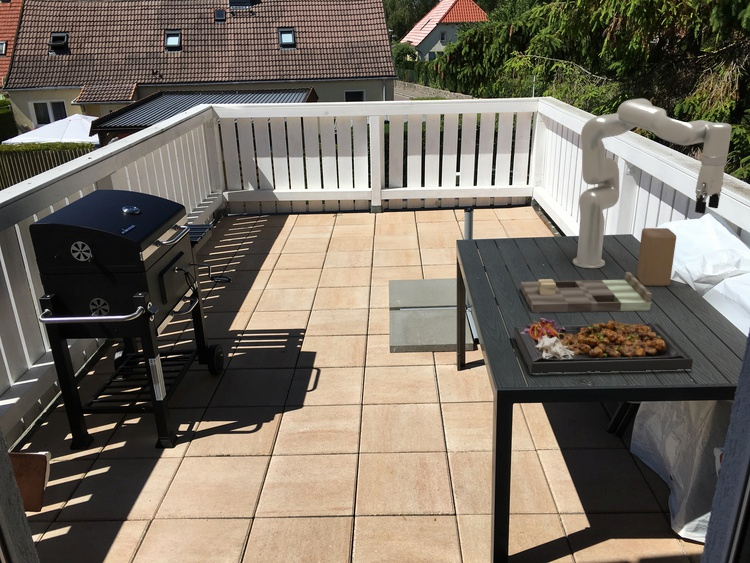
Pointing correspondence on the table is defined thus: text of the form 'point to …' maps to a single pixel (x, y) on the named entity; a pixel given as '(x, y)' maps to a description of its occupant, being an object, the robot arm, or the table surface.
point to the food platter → (599, 347)
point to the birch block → (546, 287)
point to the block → (656, 256)
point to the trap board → (589, 296)
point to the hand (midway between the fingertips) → (706, 210)
